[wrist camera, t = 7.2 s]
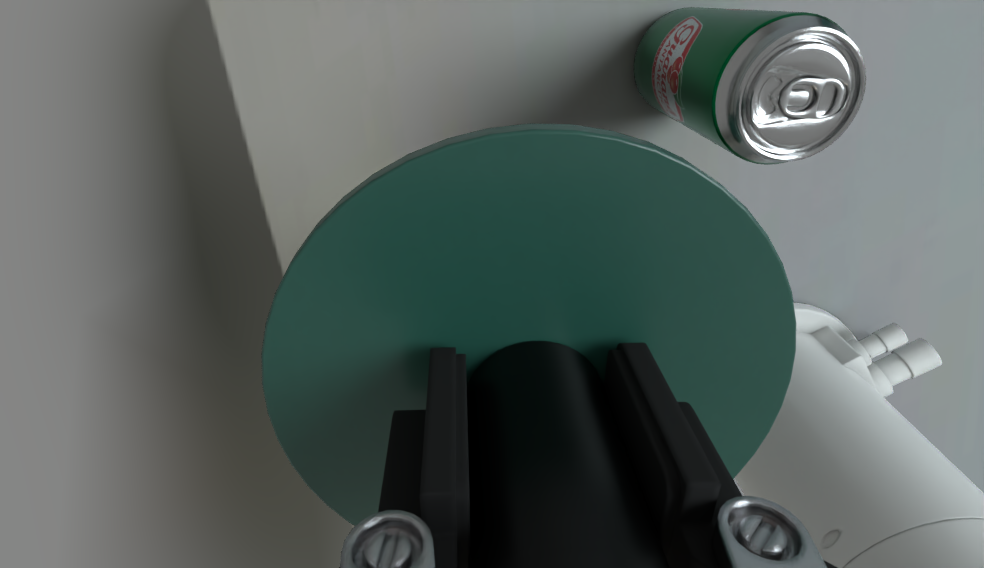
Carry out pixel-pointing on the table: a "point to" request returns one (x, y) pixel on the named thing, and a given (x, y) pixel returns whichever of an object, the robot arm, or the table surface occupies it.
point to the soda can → (753, 79)
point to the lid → (528, 330)
